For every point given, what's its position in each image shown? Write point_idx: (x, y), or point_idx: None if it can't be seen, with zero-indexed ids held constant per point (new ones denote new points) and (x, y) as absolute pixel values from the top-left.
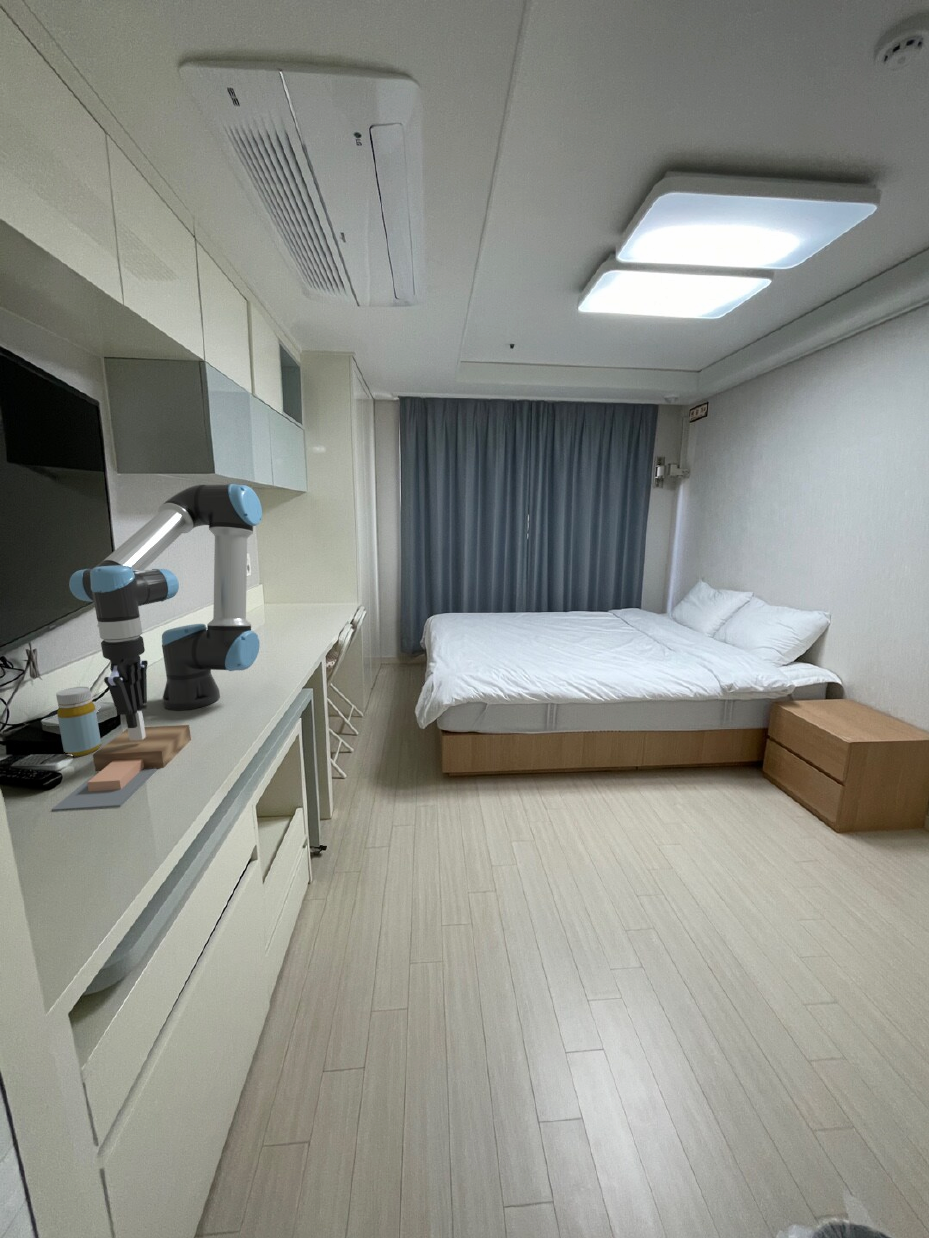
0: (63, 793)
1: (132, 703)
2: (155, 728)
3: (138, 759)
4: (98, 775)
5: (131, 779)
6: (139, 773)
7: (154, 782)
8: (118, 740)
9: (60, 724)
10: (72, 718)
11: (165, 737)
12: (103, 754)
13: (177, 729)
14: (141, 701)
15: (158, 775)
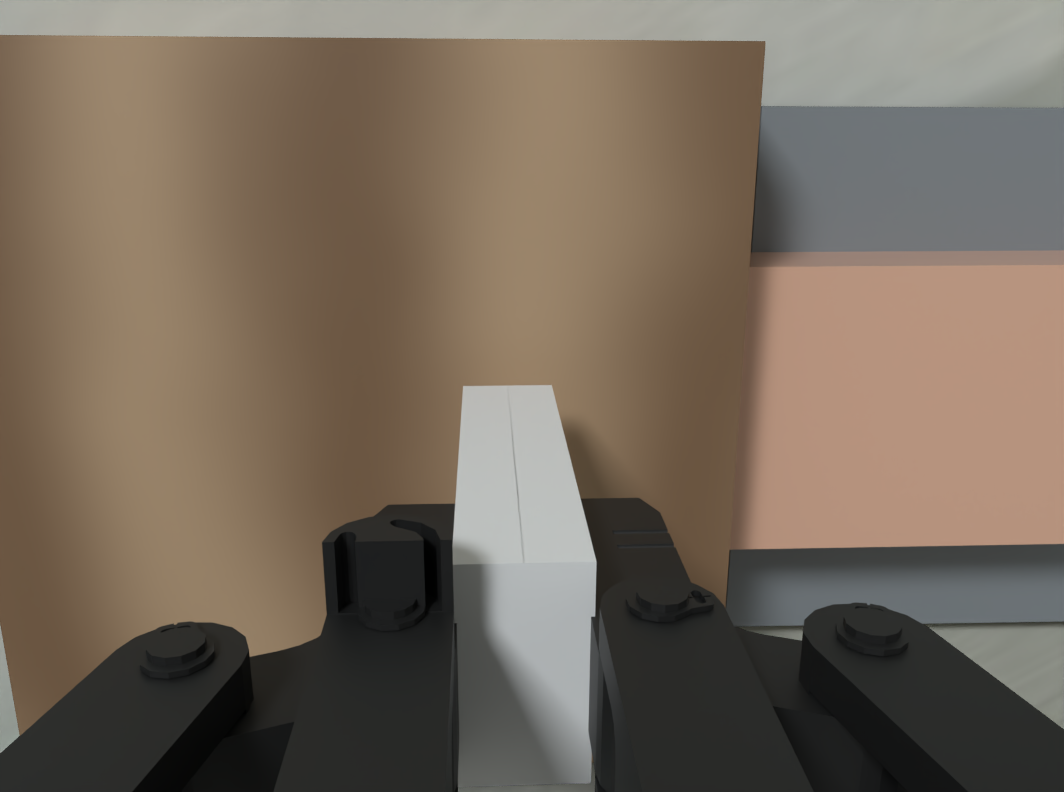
0: (1010, 684)
1: (790, 746)
2: (43, 459)
3: None
4: (1018, 517)
5: (947, 250)
6: (838, 233)
7: (1020, 4)
8: None
9: None
10: None
11: (340, 189)
12: None
13: (74, 140)
14: (367, 681)
15: (877, 33)
